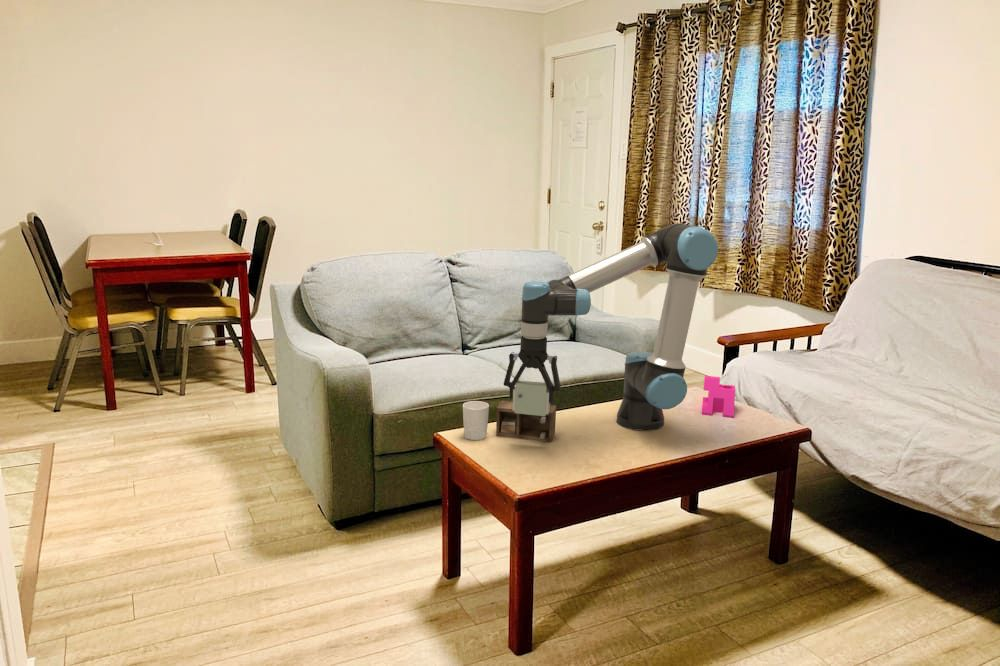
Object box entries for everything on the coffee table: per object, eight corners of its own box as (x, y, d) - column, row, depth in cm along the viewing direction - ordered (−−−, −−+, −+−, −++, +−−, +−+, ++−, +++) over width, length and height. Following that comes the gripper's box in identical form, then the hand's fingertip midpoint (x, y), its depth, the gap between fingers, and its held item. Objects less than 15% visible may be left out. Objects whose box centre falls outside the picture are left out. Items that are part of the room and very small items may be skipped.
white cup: (489, 432, 235) (490, 401, 233) (486, 441, 228) (487, 409, 225) (464, 431, 236) (464, 400, 234) (460, 440, 228) (460, 408, 226)
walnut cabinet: (555, 433, 236) (556, 405, 233) (550, 444, 227) (551, 415, 224) (501, 428, 239) (501, 400, 237) (494, 438, 230) (494, 410, 228)
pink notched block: (702, 404, 266) (704, 375, 264) (733, 407, 264) (735, 378, 261) (701, 415, 255) (703, 385, 253) (733, 418, 252) (736, 388, 250)
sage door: (547, 412, 224) (548, 382, 222) (544, 417, 220) (545, 387, 218) (517, 409, 226) (518, 380, 224) (514, 413, 222) (515, 384, 220)
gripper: (573, 336, 219) (569, 410, 224) (499, 330, 224) (497, 403, 229) (570, 342, 212) (566, 419, 217) (493, 335, 217) (491, 411, 222)
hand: (530, 411), depth 223 cm, fingers closed on sage door, 9 cm apart
